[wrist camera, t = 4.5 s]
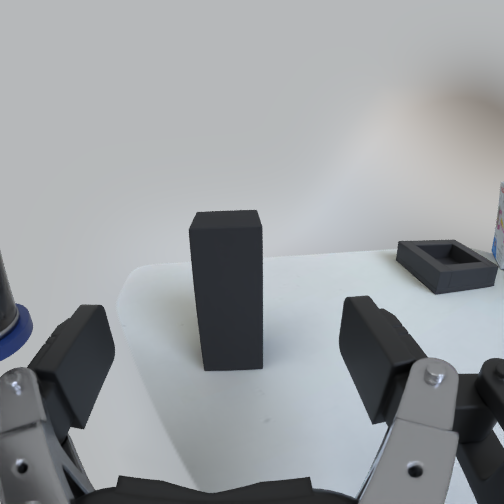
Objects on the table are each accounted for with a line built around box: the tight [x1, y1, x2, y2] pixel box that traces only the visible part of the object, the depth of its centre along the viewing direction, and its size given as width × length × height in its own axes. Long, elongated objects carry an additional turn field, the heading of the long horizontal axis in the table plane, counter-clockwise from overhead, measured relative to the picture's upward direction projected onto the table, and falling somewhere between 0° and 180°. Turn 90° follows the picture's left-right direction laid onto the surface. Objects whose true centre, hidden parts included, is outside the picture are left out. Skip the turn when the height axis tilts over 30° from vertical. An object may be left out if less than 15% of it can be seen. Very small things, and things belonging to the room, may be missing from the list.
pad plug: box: [189, 210, 263, 371], centre depth 21 cm, size 4×4×10 cm
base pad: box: [396, 240, 498, 294], centre depth 33 cm, size 10×10×3 cm
